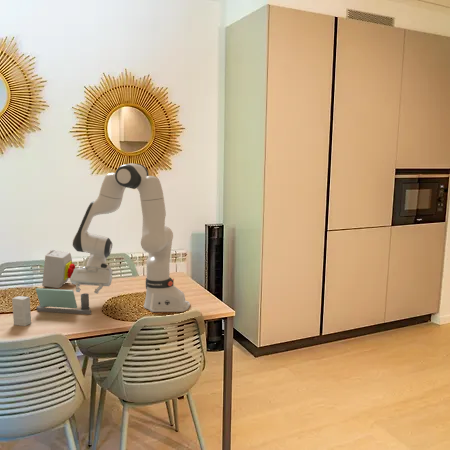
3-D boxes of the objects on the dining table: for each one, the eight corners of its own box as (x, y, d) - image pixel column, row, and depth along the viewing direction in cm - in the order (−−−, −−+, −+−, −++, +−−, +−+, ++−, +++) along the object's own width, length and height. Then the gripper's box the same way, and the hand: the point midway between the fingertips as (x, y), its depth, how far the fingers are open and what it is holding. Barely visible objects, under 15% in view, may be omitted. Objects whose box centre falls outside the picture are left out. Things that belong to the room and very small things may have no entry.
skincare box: (31, 323, 205) (30, 296, 203) (25, 326, 201) (23, 299, 199) (20, 321, 206) (18, 295, 205) (13, 324, 202) (11, 298, 201)
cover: (73, 290, 214) (72, 291, 213) (77, 307, 219) (76, 308, 218) (36, 288, 216) (35, 289, 215) (41, 305, 221) (40, 306, 220)
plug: (91, 308, 224) (90, 293, 223) (87, 311, 220) (86, 296, 219) (83, 308, 225) (82, 293, 224) (79, 310, 221) (78, 295, 220)
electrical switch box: (68, 292, 256) (72, 257, 253) (41, 288, 256) (45, 253, 253) (77, 284, 271) (80, 251, 268) (51, 280, 270) (54, 247, 267)
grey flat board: (100, 306, 228) (99, 303, 227) (90, 314, 216) (89, 311, 216) (47, 303, 231) (47, 300, 231) (35, 311, 220) (35, 307, 220)
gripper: (73, 263, 232) (64, 287, 224) (112, 265, 229) (104, 290, 221) (77, 269, 237) (68, 293, 229) (115, 272, 234) (108, 296, 226)
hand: (86, 292), depth 225 cm, fingers open, 8 cm apart
